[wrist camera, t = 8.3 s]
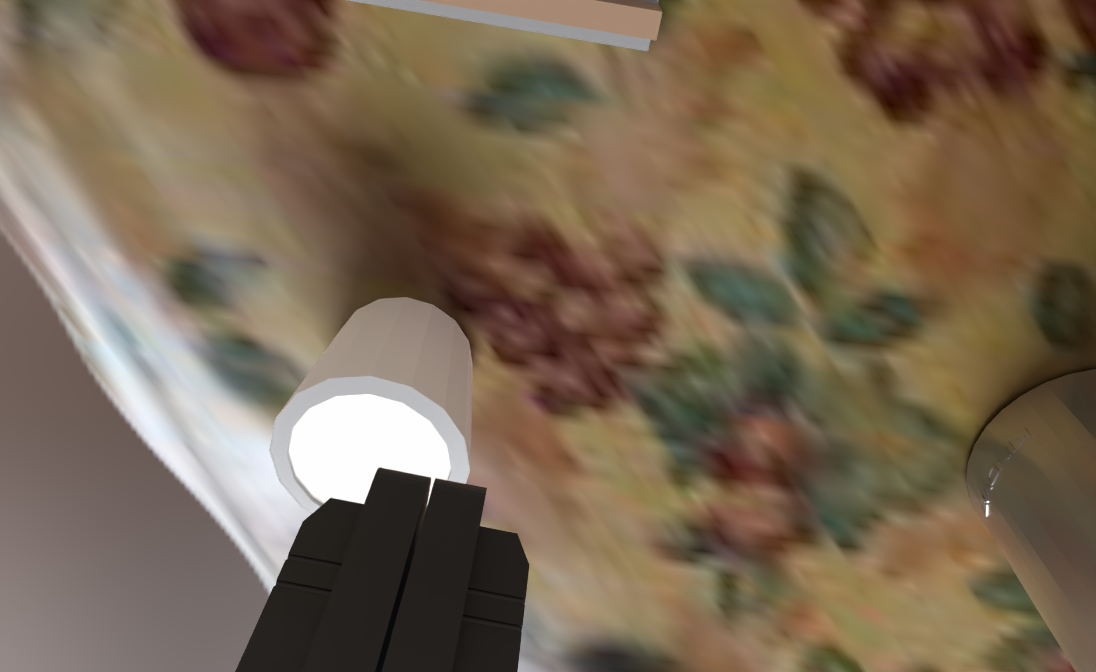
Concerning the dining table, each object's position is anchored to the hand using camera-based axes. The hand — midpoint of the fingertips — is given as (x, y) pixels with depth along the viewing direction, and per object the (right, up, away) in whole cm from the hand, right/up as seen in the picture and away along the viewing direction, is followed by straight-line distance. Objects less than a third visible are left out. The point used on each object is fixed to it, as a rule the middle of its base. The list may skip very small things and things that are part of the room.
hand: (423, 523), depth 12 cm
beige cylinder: (-4, +2, +24) cm, 24 cm away
